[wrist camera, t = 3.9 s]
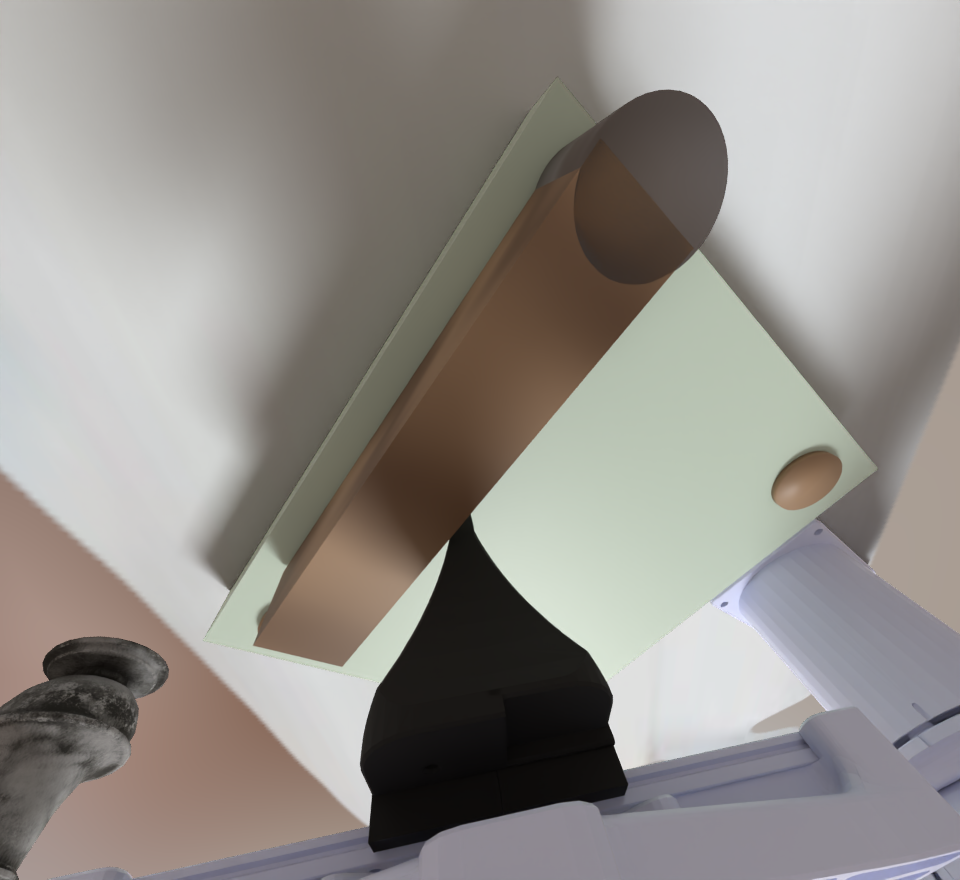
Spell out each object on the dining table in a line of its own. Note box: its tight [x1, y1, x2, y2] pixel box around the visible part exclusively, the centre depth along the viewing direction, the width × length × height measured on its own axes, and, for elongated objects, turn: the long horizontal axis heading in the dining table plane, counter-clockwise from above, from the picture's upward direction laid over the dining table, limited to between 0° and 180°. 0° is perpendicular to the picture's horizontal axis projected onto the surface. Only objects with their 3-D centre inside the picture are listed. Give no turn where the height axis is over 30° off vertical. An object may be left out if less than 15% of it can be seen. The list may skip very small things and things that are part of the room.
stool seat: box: [203, 77, 878, 683], centre depth 17 cm, size 21×23×3 cm
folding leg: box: [253, 90, 728, 667], centre depth 11 cm, size 18×3×3 cm, turn 143°
